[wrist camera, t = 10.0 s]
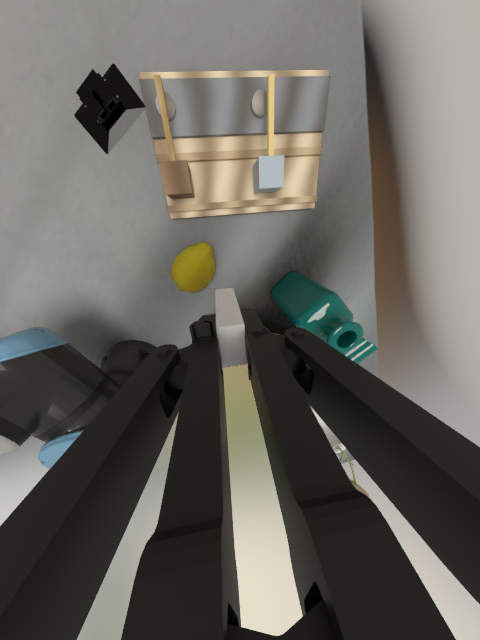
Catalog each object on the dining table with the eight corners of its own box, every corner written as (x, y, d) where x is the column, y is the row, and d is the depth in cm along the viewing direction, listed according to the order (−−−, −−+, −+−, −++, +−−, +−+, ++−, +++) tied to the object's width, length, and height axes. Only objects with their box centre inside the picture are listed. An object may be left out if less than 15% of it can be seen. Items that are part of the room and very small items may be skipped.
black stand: (107, 167, 31) (91, 157, 27) (63, 117, 27) (37, 98, 23) (158, 107, 28) (148, 86, 24) (115, 45, 25) (97, 10, 21)
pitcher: (266, 293, 44) (308, 344, 25) (293, 267, 42) (361, 301, 23) (290, 316, 48) (342, 377, 29) (315, 294, 46) (390, 342, 26)
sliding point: (253, 193, 33) (259, 188, 29) (250, 96, 28) (257, 72, 23) (274, 192, 34) (283, 187, 29) (276, 95, 28) (287, 71, 24)
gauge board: (172, 219, 35) (164, 217, 29) (142, 78, 26) (123, 39, 21) (311, 208, 37) (328, 205, 31) (324, 75, 29) (350, 39, 23)
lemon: (194, 294, 42) (190, 307, 35) (165, 270, 39) (154, 279, 32) (226, 260, 39) (229, 267, 32) (199, 231, 36) (195, 232, 29)
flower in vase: (297, 407, 66) (339, 497, 44) (326, 394, 65) (385, 480, 42) (308, 424, 72) (350, 512, 50) (335, 412, 70) (390, 497, 48)
